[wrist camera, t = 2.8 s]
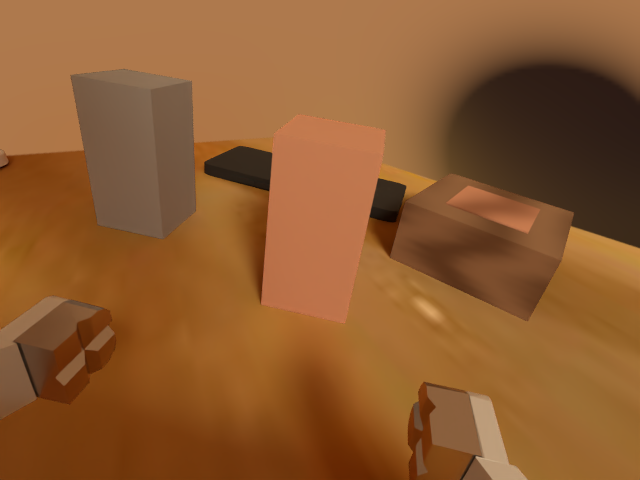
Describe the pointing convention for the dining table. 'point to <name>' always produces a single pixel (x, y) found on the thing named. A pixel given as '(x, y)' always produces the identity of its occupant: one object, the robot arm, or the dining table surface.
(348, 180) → the terracotta block
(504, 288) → the walnut base block
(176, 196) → the grey block
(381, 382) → the dining table surface
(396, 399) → the dining table surface
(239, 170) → the smart home device
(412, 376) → the dining table surface
